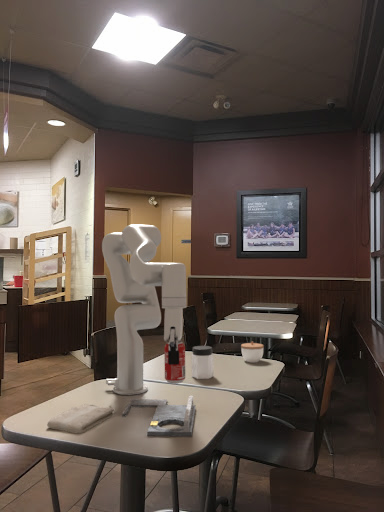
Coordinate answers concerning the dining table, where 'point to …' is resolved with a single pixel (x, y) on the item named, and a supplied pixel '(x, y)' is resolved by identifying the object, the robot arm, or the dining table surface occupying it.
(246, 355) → the lidded jar
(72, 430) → the washcloth
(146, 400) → the grey flat l-shaped piece
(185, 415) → the rack
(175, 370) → the beverage can
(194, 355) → the jar
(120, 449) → the dining table surface
